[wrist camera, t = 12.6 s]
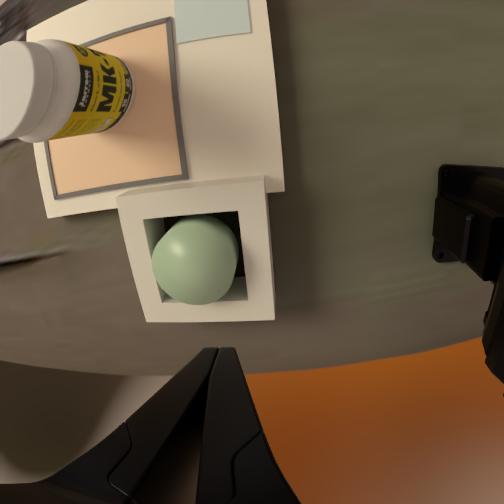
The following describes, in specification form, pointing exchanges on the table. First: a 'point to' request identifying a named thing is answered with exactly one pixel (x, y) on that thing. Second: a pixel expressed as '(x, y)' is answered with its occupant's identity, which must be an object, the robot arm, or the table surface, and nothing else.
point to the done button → (196, 260)
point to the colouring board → (169, 100)
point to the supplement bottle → (60, 90)
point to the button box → (199, 202)
